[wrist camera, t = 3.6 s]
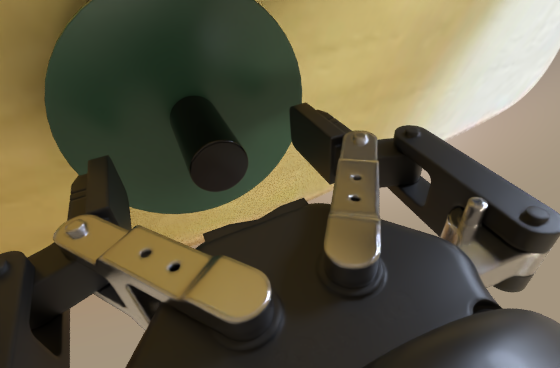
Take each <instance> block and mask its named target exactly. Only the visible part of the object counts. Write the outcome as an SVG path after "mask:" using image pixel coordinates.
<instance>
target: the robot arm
mask: <svg viewBox="0 0 560 368" xmlns="http://www.w3.org/2000/svg"><path fill="white" fill-rule="evenodd" d="M289 114H290V130H291V140H292V143H293V145H294V147H295V149H296V150H297V151H298V152H299V153H300V154H301V155H302V156H303V157H304V158H305V159H306V160H307V161H308V162H309V163H310V164H311V165H312V166H313V167H314V168H315V169H316V170H317V172H318V173H319V174H320V175H321V176H322V177H323V178H324V179H325V180H326V181H327V182H328V183H329V184H333V183H335V184H334V190H333V196H332V202H331V204H324V203H314V204H308V203H307V201H306V200H305V199H304V198H302V199H299V200H296V201H293V202H290V203H288V204H285V205H282V206H280V207H278V208H277V209H275V210H273V211H272V212H270V213H268V214H267V215H265V216H263V217H262V218H260V219H258V220H253V221H247V222H241V223H235V224H229V225H226V226H224V227H221V228H218V229H215V230H212V231H210V232H207V233H204V234H203V236H204V239H205V242H204V243H202V244H201V245H199V246H198V247H197V248H196V249H194V248H191V247H189V246H187V245H184V244H182V243H180V242H177V241H175V240H173V239H170V238H168V237H166V236H163V235H161V234H159V233H156V232H154V231H152V230H149V229H147V228H145V227H142V226H139V225H137V226H135V227H134V228H133V229H132V228H131V219H130V210H129V200H128V196H127V192H126V189H125V187H124V185H123V183H122V181H121V178H120V176H119V174H118V172H117V170H116V168H115V166H114V164H113V162H112V160H111V158H110V156H109V155H106V156H102V157H99V158H95V159H91V160H88V171H87V174H83V175H80V176H78V177H77V178H76V180H75V181H74V182H73V184H72V186H71V195H70V203H69V211H68V219H67V221H66V222H65V223H63V224H62V225H61V226H60V227H59V228H58V229H57V230H56V232H55V233H54V236H53V240H54V243H53V244H51V245H50V246H48V247H46V248H45V249H43V250H41V251H39V252H37V253H35V254H33V255H31V256H29V257H28V258H27V257H26V256H25V255H24V254H23V253H22V252H19V251H10V252H6V253H2V254H0V368H70V308H71V307H73V306H74V305H76V304H77V303H79V302H81V301H82V300H84V299H85V298H87V297H88V296H90V295H92V294H94V295H96V296H97V297H99V298H101V299H102V300H104V301H106V302H107V303H109V304H111V305H112V306H114V307H116V308H117V309H119V310H121V311H122V312H124V313H125V314H127V315H129V316H130V317H131V318H132V319H134V320H135V321H136V322H137V323H138V324H139V325H140V326H141V327H142V328H143V329H144V330H145V333H144V334H143V336H142V338H141V340H140V342H139V344H138V346H137V347H136V349H135V351H134V353H133V355H132V357H131V359H130V361H129V362H128V364H127V366H126V368H560V324H559V323H557V322H556V321H554V320H552V319H551V318H548V317H546V316H544V315H542V314H539V313H536V312H533V311H528V310H522V309H502V308H501V307H500V306H499V305H498V304H497V302H496V301H495V300H494V299H493V298H492V296H491V295H490V293H489V292H488V290H487V289H486V288H488V287H490V286H494V287H496V288H498V289H500V290H503V291H507V292H519V291H521V290H523V289H524V288H525V287H526V285H527V284H528V282H529V281H530V279H531V278H532V276H533V275H534V273H535V272H536V270H537V269H538V267H539V266H540V264H541V263H542V261H543V260H544V258H545V257H546V255H547V254H548V253H549V251H550V249H551V248H552V247H553V245H554V243H555V242H556V240H557V239H558V237H559V236H560V214H559V213H557V212H556V211H555V210H553V209H552V208H550V207H548V206H547V205H545V204H543V203H542V202H540V201H539V200H537V199H536V198H534V197H532V196H531V195H529V194H528V193H526V192H524V191H523V190H521V189H520V188H518V187H516V186H515V185H513V184H512V183H510V182H509V181H507V180H505V179H504V178H502V177H501V176H499V175H497V174H496V173H494V172H493V171H491V170H489V169H488V168H486V167H485V166H483V165H482V164H480V163H478V162H477V161H475V160H474V159H472V158H470V157H469V156H467V155H466V154H464V153H462V152H461V151H459V150H458V149H456V148H454V147H453V146H451V145H450V144H448V143H447V142H445V141H443V140H442V139H440V138H439V137H437V136H435V135H434V134H432V133H431V132H429V131H427V130H426V129H424V128H422V127H418V126H411V125H407V126H401V127H399V128H397V129H396V130H395V134H394V138H391V139H381V140H377V137H376V136H375V135H374V134H372V133H370V132H367V131H351V130H350V129H349V128H347V127H346V126H345V125H343V124H342V123H341V122H339V121H338V120H336V119H335V118H334V117H332V116H331V115H330V114H328V113H326V112H323V111H320V110H315V109H314V108H312V107H311V106H310V105H309V104H307V103H302V104H298V105H295V106H291V107H290V110H289ZM422 168H423V169H424V170H426V171H427V172H428V174H429V175H430V178H431V184H430V183H429V182H428V181H426V180H425V179H424V178H423V177H421V176H420V175H421V171H422ZM381 187H388V188H389V189H390V190H391V191H392V192H393V193H394V194H395V195H396V196H397V197H398V198H399V199H400V200H401V201H402V202H403V203H404V204H405V205H407V206H408V207H409V208H410V209H411V210H412V211H413V212H414V213H415V214H416V215H417V216H418V217H419V218H420V219H421V220H422V221H423V222H425V223H426V224H427V225H428V226H429V227H430V228H431V229H432V230H433V231H434V232H435V233H436V234H437V235H438V236H439V237H437V236H434V235H431V234H427V233H424V232H421V231H418V230H414V229H411V228H408V227H405V226H401V225H398V224H395V223H392V222H388V221H385V220H382V219H380V216H379V188H381Z"/></svg>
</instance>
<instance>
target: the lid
mask: <svg viewBox="0 0 560 368" xmlns="http://www.w3.org/2000/svg"><path fill="white" fill-rule="evenodd" d="M298 104H302V86H301V76H300V71H299V67H298V62H297V59H296V57H295V54H294V51H293V48H292V46H291V44H290V43H289V41H288V39H287V37H286V35H285V33H284V32H283V30H282V29H281V27H280V26H279V25H278V23H277V22H276V20H275V19H274V18H273V17H272V16H271V15H270V14H269V13H268V12H267V11H266V10H265V9H264V8H263V7H262V6H261V5H260V4H258V3H257V2H256V1H255V0H90V1H89V2H88V3H86V4H85V5H84V6H83V7H81V8H80V10H79V11H78V12H77V13H76V14H75V15H74V16H73V18H72V19H71V20H70V21H69V22H68V23H67V25H66V27H65V28H64V30H63V32H62V33H61V35H60V37H59V38H58V40H57V42H56V44H55V47H54V49H53V52H52V55H51V57H50V60H49V63H48V68H47V73H46V78H45V106H46V113H47V119H48V122H49V125H50V129H51V132H52V135H53V137H54V139H55V141H56V143H57V145H58V147H59V149H60V151H61V153H62V154H63V156H64V157H65V159H66V160H67V162H68V163H69V164H70V166H71V167H72V168H73V169H74V170H75V171H76V172H77V173H78V174H79V176H80V175H83V174H87V171H88V160H91V159H95V158H99V157H102V156H106V155H109V156H110V158H111V160H112V162H113V164H114V166H115V168H116V170H117V172H118V174H119V176H120V178H121V181H122V183H123V185H124V187H125V189H126V192H127V196H128V200H129V206H130V207H132V208H135V209H139V210H144V211H148V212H155V213H162V214H183V213H193V212H199V211H204V210H208V209H212V208H215V207H218V206H221V205H223V204H226V203H228V202H231V201H233V200H235V199H236V198H238V197H240V196H242V195H244V194H245V193H247V192H248V191H250V190H251V189H253V188H254V187H255V186H256V185H258V184H259V183H260V182H261V181H263V180H264V179H265V178H266V177H267V176H268V175H269V174H270V173H271V172H272V170H273V169H274V168H275V167H276V166H277V164H278V163H279V162H280V160H281V159H282V157H283V156H284V154H285V153H286V151H287V149H288V147H289V145H290V143H291V141H292V140H291V130H290V114H289V110H290V107H291V106H295V105H298Z"/></svg>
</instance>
